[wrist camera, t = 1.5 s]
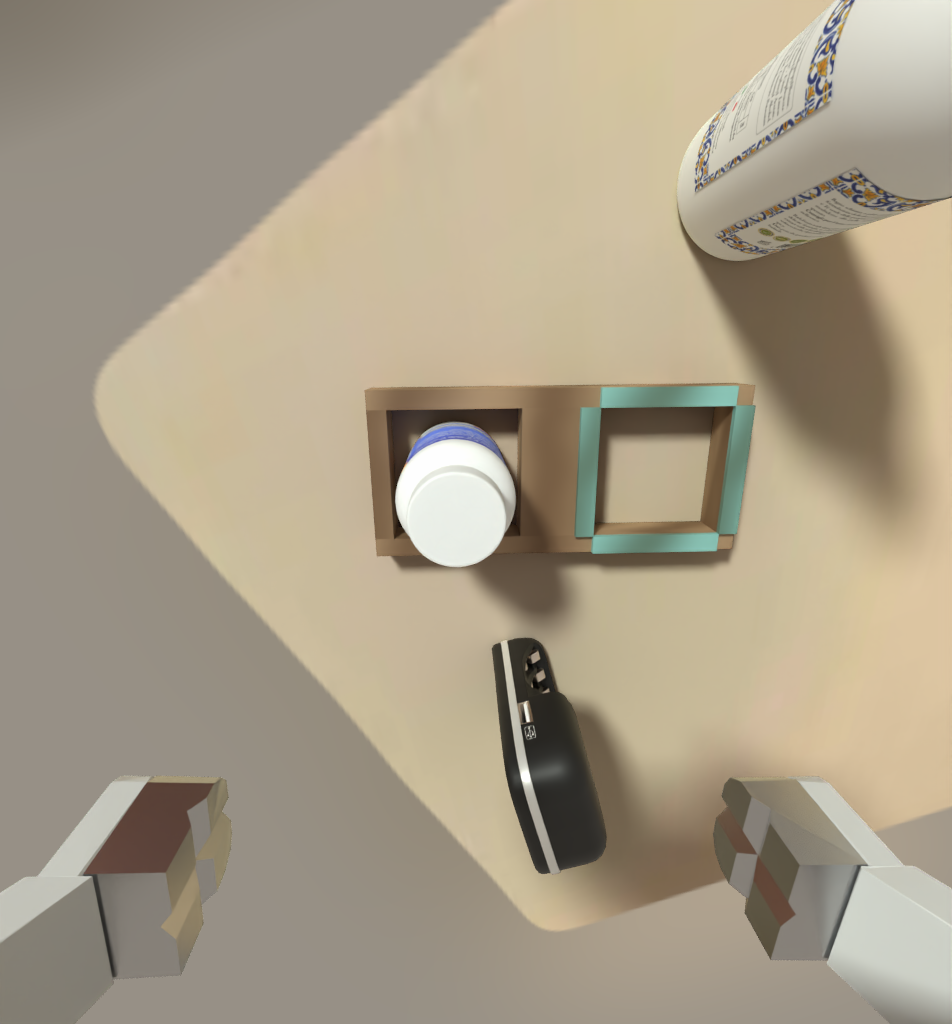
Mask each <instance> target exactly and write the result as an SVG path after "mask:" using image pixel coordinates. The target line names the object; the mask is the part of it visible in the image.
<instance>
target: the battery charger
mask: <svg viewBox="0 0 952 1024" xmlns="http://www.w3.org/2000/svg"><path fill="white" fill-rule="evenodd" d="M492 654H493V662H494V671H495V681H496V693H497V703H498V713H499V723H500V732H501V741H502V750H503V758H504V765H505V771H506V777H507V782H508V786H509V790H510V794H511V797H512V801H513V804H514V807H515V810H516V813H517V816H518V819H519V822H520V825H521V828H522V831H523V834H524V837H525V840H526V843H527V846H528V849H529V852H530V855H531V858H532V861H533V863H534V866H535V868H536V870H537V871H538V872H539V873H541V874H547V873H551V874H552V875H553V874H557V873H560V872H561V870H564V869H568V868H572V867H576V866H580V865H584V864H588V863H591V862H593V861H596V860H597V859H598V858H599V857H600V856H601V855H602V854H603V852H604V850H605V847H606V838H607V837H606V830H605V825H604V820H603V815H602V811H601V807H600V803H599V799H598V795H597V791H596V788H595V784H594V780H593V777H592V773H591V769H590V766H589V762H588V758H587V755H586V751H585V747H584V744H583V740H582V736H581V732H580V729H579V725H578V722H577V718H576V715H575V712H574V709H573V707H572V705H571V703H570V702H569V701H568V700H567V698H566V697H565V696H564V695H563V694H561V693H559V692H555V689H554V685H553V682H552V678H551V675H550V671H549V668H548V664H547V660H546V657H545V654H544V650H543V648H542V646H541V644H540V643H539V642H538V641H537V640H535V639H532V638H517V639H513V640H509V641H507V640H504V641H501V643H498V644H495V645H494V646H493V648H492Z"/></svg>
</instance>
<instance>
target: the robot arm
mask: <svg viewBox="0 0 952 1024" xmlns="http://www.w3.org/2000/svg"><path fill="white" fill-rule="evenodd" d="M722 798H723V800H724V801H725V803H726V805H727V806H728V807H727V808H726V809H725V810H724V811H723V812H722V813H721V814H720V815H719V816H718V817H717V818H716V822H715V828H714V833H713V836H714V844H715V852H716V855H717V858H718V861H719V864H720V867H721V869H722V871H723V873H724V875H725V877H726V879H727V881H728V883H729V884H730V885H731V886H733V887H734V888H735V889H736V890H737V891H739V892H740V893H741V894H742V895H743V896H745V897H746V905H745V914H746V916H747V918H748V920H749V921H750V923H751V925H752V927H753V929H754V931H755V932H756V934H757V936H758V938H759V940H760V941H761V943H762V945H763V947H764V949H765V951H766V952H767V954H768V956H769V958H770V960H828V962H827V965H828V966H829V967H830V968H832V969H833V970H834V971H835V972H836V973H837V974H838V975H839V976H840V977H841V978H842V979H843V980H844V981H845V982H846V983H848V985H850V986H851V987H852V988H853V989H854V990H855V991H856V992H857V993H858V994H859V995H860V996H861V997H862V998H863V999H864V1000H866V1001H867V1002H868V1003H869V1004H870V1005H871V1006H872V1007H873V1008H874V1009H875V1010H876V1011H877V1012H878V1013H879V1014H880V1015H881V1016H882V1017H883V1018H884V1019H886V1020H887V1021H888V1022H889V1023H890V1024H952V889H951V888H950V887H948V886H946V885H945V884H943V883H942V882H940V881H938V880H936V879H935V878H933V877H932V876H930V875H928V874H927V873H925V872H923V871H922V870H920V869H918V868H917V867H915V866H904V865H903V864H902V863H901V862H900V861H899V859H898V858H897V857H896V856H895V855H894V854H893V853H892V852H891V851H890V850H889V849H888V847H887V846H886V845H885V844H884V843H883V842H882V841H881V840H880V839H879V837H878V836H877V835H876V834H875V833H874V832H873V831H872V830H871V829H870V828H869V826H868V825H867V824H866V823H865V822H864V821H863V820H862V819H861V818H860V817H859V815H858V814H857V813H856V812H855V811H854V810H853V809H852V808H851V807H850V806H849V804H848V803H847V802H846V801H845V800H844V799H843V798H842V797H841V796H840V795H839V793H838V792H837V791H836V790H835V789H834V788H833V787H832V786H831V785H830V784H829V783H828V782H827V781H825V780H824V779H822V778H820V777H818V776H812V777H787V778H786V777H735V778H730V779H729V780H728V781H727V782H726V783H725V785H724V789H723V793H722ZM227 800H228V790H227V783H226V780H225V779H223V778H220V777H218V778H217V777H182V776H181V777H180V776H155V777H150V776H121V777H119V778H118V779H116V780H115V781H113V782H112V783H111V784H110V785H109V786H108V787H107V789H106V790H105V791H104V792H103V794H102V795H101V796H100V797H99V799H98V800H97V801H96V803H95V804H94V805H93V806H92V808H91V809H90V810H89V811H88V813H87V814H86V815H85V816H84V818H83V819H82V820H81V822H80V823H79V824H78V825H77V827H76V828H75V829H74V830H73V832H72V833H71V834H70V835H69V837H68V838H67V839H66V840H65V842H64V843H63V844H62V846H61V847H60V848H59V849H58V851H57V852H56V853H55V854H54V856H53V857H52V858H51V859H50V861H49V862H48V863H47V865H46V866H45V867H44V869H43V870H42V871H41V872H40V873H39V875H38V876H37V877H24V878H23V879H21V880H20V881H18V882H17V883H15V884H13V885H12V886H10V887H9V888H7V889H6V890H4V891H3V892H1V893H0V1024H75V1023H76V1022H77V1021H78V1020H79V1019H80V1018H81V1017H82V1016H83V1015H84V1014H85V1013H86V1012H87V1011H88V1009H90V1008H91V1006H93V1004H94V1003H95V1002H96V1001H97V1000H98V999H99V998H100V997H101V996H102V995H103V994H104V993H105V992H106V991H107V990H108V989H109V988H110V987H111V986H112V985H113V983H114V981H113V979H127V978H144V977H161V976H178V975H181V974H182V972H183V970H184V967H185V965H186V963H187V960H188V958H189V956H190V953H191V951H192V949H193V946H194V944H195V942H196V939H197V937H198V935H199V932H200V930H201V928H202V925H203V915H202V904H203V903H204V902H206V900H208V899H209V898H210V897H211V896H212V895H213V894H215V893H216V892H217V890H218V888H219V885H220V883H221V880H222V878H223V875H224V873H225V870H226V865H227V862H228V857H229V854H230V850H231V837H232V829H231V820H230V819H229V818H228V817H227V816H226V815H225V814H224V813H223V812H222V810H223V808H224V806H225V804H226V802H227Z"/></svg>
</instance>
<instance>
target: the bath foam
mask: <svg viewBox="0 0 952 1024" xmlns="http://www.w3.org/2000/svg"><path fill="white" fill-rule="evenodd" d="M951 197H952V0H835V1H834V2H833V3H832V4H831V5H830V6H829V7H828V8H827V9H826V10H825V11H824V12H823V13H822V14H820V15H819V16H818V17H817V18H816V19H815V20H814V21H813V22H812V23H811V24H810V25H809V26H808V27H807V28H806V29H804V30H803V31H802V32H801V33H800V34H799V35H798V36H797V37H796V38H795V39H794V40H793V41H792V42H791V43H790V44H788V45H787V46H786V47H785V48H784V49H783V50H782V51H781V52H780V53H779V54H778V55H777V56H776V57H775V58H773V59H772V60H771V61H770V62H769V63H768V64H767V65H766V66H765V67H764V68H763V69H762V70H761V71H760V72H759V73H757V74H756V75H755V76H754V77H753V78H752V79H751V80H750V81H749V82H748V83H747V84H746V85H745V86H744V87H743V88H741V89H740V90H739V91H738V92H737V93H736V94H735V95H734V96H733V97H732V98H731V99H730V100H729V101H728V102H727V103H726V104H725V105H724V106H723V107H722V108H721V109H720V110H719V111H718V112H717V113H715V114H714V115H713V116H712V117H711V118H710V119H709V120H708V121H707V122H706V123H705V124H704V125H703V127H702V128H701V129H700V130H699V131H698V133H697V134H696V136H695V137H694V138H693V140H692V142H691V143H690V145H689V147H688V149H687V151H686V153H685V156H684V158H683V161H682V164H681V167H680V171H679V176H678V183H677V203H678V209H679V214H680V217H681V220H682V223H683V225H684V227H685V229H686V231H687V233H688V234H689V236H690V237H691V239H692V240H693V241H694V242H695V243H696V244H697V245H698V246H699V247H700V248H701V249H702V250H704V251H705V252H707V253H708V254H710V255H712V256H715V257H717V258H720V259H724V260H730V261H745V260H751V259H756V258H759V257H763V256H766V255H769V254H772V253H776V252H780V251H783V250H786V249H789V248H793V247H796V246H799V245H802V244H805V243H808V242H812V241H815V240H818V239H821V238H824V237H827V236H831V235H834V234H837V233H840V232H843V231H847V230H850V229H853V228H856V227H859V226H862V225H866V224H869V223H872V222H875V221H878V220H881V219H885V218H888V217H891V216H894V215H897V214H901V213H904V212H907V211H910V210H913V209H916V208H920V207H923V206H926V205H929V204H932V203H935V202H939V201H942V200H945V199H948V198H951Z"/></svg>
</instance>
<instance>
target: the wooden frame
mask: <svg viewBox="0 0 952 1024" xmlns="http://www.w3.org/2000/svg"><path fill="white" fill-rule="evenodd" d="M754 391H755V385H747V384H738V383H712V384H633V385H555V386H476V387H397V388H370V389H367V390H365V400H366V414H367V428H368V442H369V455H370V469H371V483H372V497H373V510H374V524H375V538H376V552H377V556H410V555H423V554H421V553H420V552H419V551H418V549H417V548H416V547H415V545H414V544H413V542H412V541H411V538H410V537H409V536H408V534H407V533H406V532H405V530H404V528H403V527H398V519H397V511H396V503H395V496H396V485H395V468H394V451H393V434H392V417H391V410H439V409H512V408H518V463H517V525H509V527H508V529H507V531H506V532H505V533H504V536H503V539H502V541H501V542H500V544H499V546H498V547H497V548H496V549H495V551H494V552H493V553H492V554H505V553H553V552H592V554H601V553H648V552H696V551H717V549H732V542H733V535H734V534H737V528H738V521H739V515H740V508H741V501H742V494H743V488H744V481H745V474H746V467H747V460H748V454H749V447H750V440H751V433H752V427H753V420H754V413H755V406H754V405H753V398H754ZM701 406H715V408H714V416H713V424H712V432H711V440H710V448H709V456H708V464H707V472H706V480H705V488H704V496H703V504H702V512H701V521H689V522H638V523H594V519H595V503H596V486H597V470H598V453H599V437H600V420H601V408H629V407H701Z"/></svg>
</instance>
